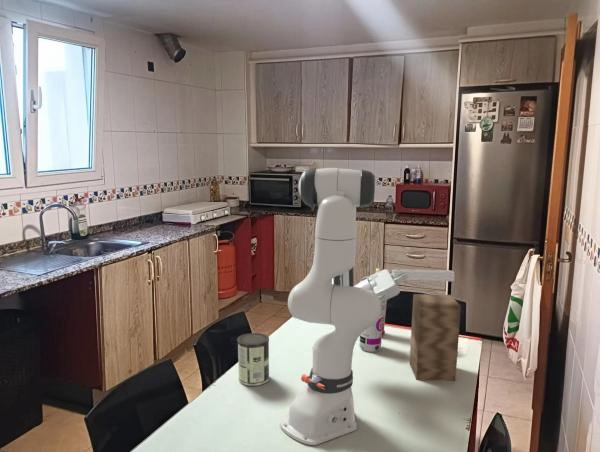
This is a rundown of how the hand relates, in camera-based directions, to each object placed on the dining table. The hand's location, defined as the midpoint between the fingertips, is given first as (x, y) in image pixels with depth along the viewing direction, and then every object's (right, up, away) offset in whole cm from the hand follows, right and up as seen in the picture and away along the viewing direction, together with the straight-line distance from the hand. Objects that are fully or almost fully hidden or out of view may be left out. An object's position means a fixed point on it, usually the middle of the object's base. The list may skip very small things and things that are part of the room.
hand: (405, 273), depth 167 cm
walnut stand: (+10, -35, +6) cm, 37 cm away
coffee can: (-51, -35, -2) cm, 62 cm away
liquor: (-4, -29, +39) cm, 49 cm away
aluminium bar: (+6, -2, 0) cm, 6 cm away
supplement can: (-8, -31, +25) cm, 41 cm away
